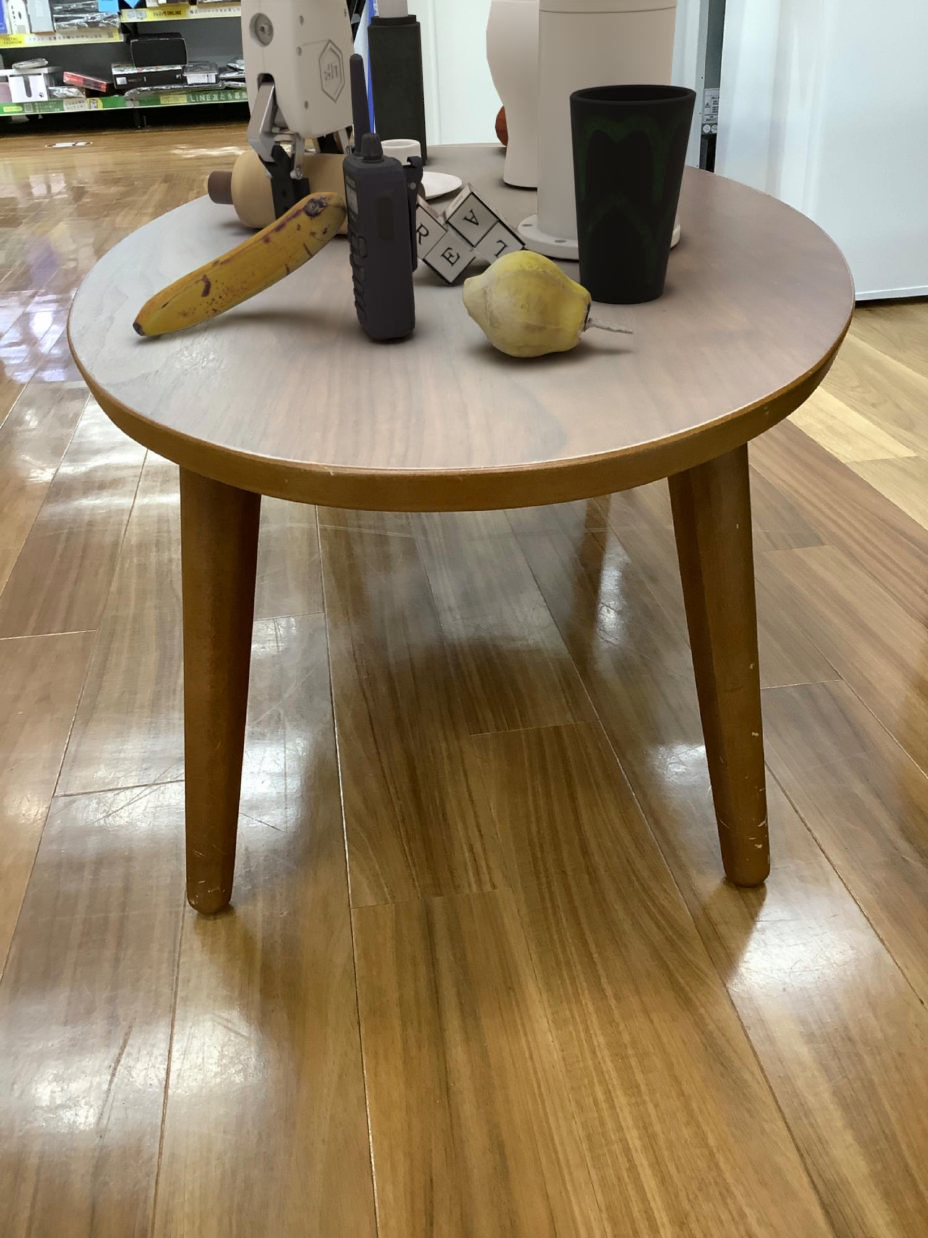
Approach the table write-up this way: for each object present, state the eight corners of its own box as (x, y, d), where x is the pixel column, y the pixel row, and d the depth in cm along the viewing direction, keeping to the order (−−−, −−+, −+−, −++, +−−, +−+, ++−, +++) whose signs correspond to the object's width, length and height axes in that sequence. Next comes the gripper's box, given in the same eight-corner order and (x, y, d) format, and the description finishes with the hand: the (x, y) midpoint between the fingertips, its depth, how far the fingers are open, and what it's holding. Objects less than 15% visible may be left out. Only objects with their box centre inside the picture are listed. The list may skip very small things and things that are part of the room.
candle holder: (367, 214, 88) (363, 161, 86) (316, 190, 97) (310, 141, 94) (485, 195, 93) (484, 144, 90) (425, 173, 101) (423, 127, 99)
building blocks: (472, 288, 76) (391, 214, 72) (521, 234, 74) (441, 154, 70) (477, 311, 71) (391, 232, 68) (530, 254, 69) (445, 170, 66)
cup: (687, 278, 70) (705, 84, 63) (668, 312, 64) (686, 102, 57) (579, 271, 72) (585, 83, 65) (552, 303, 66) (555, 101, 59)
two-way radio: (350, 318, 64) (324, 51, 56) (417, 309, 65) (401, 46, 57) (371, 346, 60) (345, 61, 51) (441, 336, 61) (428, 55, 52)
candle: (425, 166, 105) (409, -133, 90) (376, 167, 105) (353, -131, 91) (427, 156, 109) (413, -131, 95) (381, 158, 109) (359, -128, 95)
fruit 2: (637, 370, 56) (460, 353, 55) (615, 363, 62) (454, 347, 61) (653, 261, 54) (470, 241, 54) (629, 264, 60) (464, 246, 59)
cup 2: (565, 163, 102) (569, -10, 94) (619, 182, 94) (629, -5, 86) (470, 176, 99) (465, -3, 90) (518, 196, 91) (518, 3, 82)
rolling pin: (435, 231, 83) (433, 152, 80) (405, 246, 79) (401, 163, 75) (240, 217, 89) (230, 143, 86) (201, 231, 85) (189, 153, 81)
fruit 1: (308, 182, 54) (337, 233, 55) (352, 177, 62) (377, 222, 63) (99, 317, 60) (129, 363, 60) (165, 297, 68) (190, 337, 69)
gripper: (270, -33, 66) (304, 250, 76) (385, -44, 79) (400, 199, 89) (175, -31, 68) (220, 243, 78) (301, -42, 81) (326, 194, 91)
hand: (316, 217), depth 83 cm, fingers closed on rolling pin, 6 cm apart
